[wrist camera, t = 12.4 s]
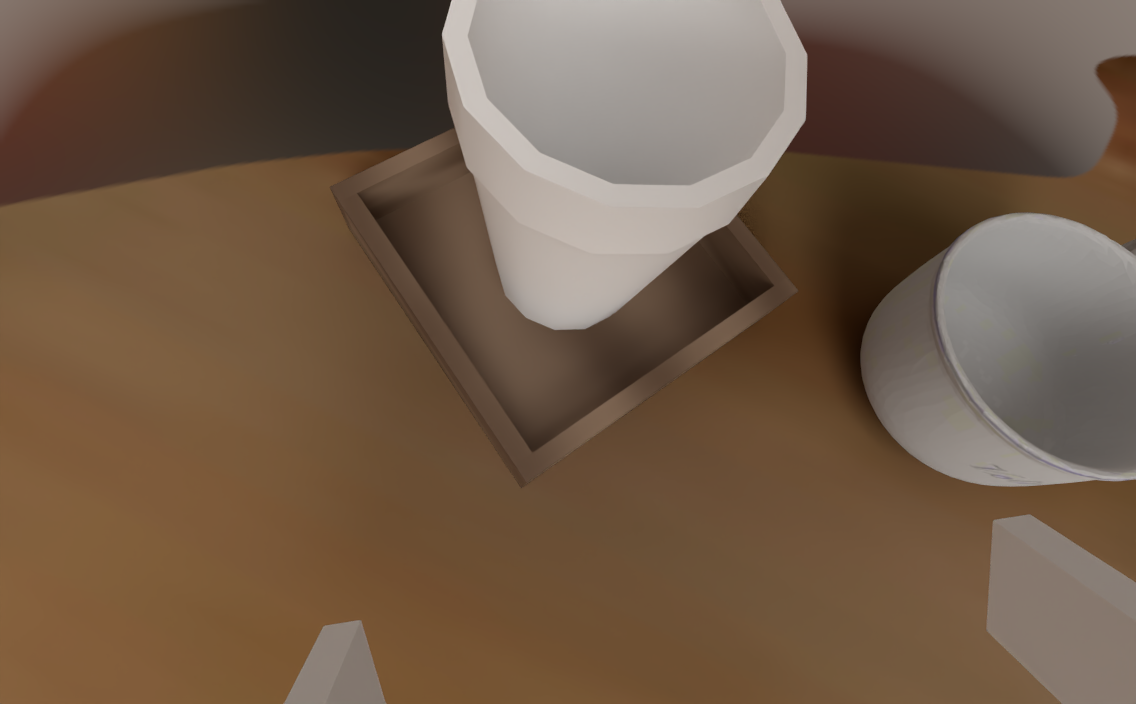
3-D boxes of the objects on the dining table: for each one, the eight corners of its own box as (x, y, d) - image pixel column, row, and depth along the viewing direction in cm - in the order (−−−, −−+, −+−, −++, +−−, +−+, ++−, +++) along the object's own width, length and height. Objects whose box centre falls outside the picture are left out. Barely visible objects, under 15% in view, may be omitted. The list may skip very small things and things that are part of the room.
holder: (594, 105, 31) (607, 55, 27) (762, 318, 28) (798, 290, 25) (349, 228, 27) (329, 187, 23) (521, 488, 24) (526, 482, 21)
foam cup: (443, 198, 27) (407, -80, 14) (624, 165, 29) (729, -105, 16) (495, 387, 24) (505, 247, 12) (687, 337, 26) (865, 173, 14)
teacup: (900, 529, 26) (1068, 532, 19) (787, 325, 28) (896, 253, 21) (1103, 416, 29) (1316, 379, 22) (987, 241, 32) (1143, 152, 24)
